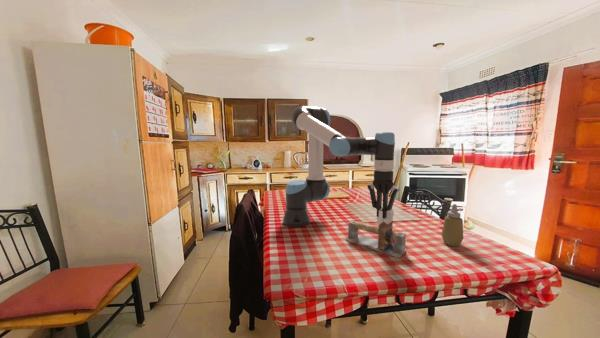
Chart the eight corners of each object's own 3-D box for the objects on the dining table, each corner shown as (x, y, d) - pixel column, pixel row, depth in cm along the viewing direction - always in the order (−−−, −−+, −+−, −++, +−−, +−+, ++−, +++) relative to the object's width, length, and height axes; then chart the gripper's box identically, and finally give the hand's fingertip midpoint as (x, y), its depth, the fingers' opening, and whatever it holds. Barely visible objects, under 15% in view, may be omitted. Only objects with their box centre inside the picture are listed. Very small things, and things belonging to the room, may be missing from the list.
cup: (394, 237, 107) (395, 212, 105) (376, 235, 109) (377, 211, 107) (391, 230, 115) (392, 207, 113) (374, 229, 116) (375, 206, 115)
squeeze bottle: (459, 241, 102) (462, 202, 100) (465, 249, 94) (469, 208, 92) (438, 238, 105) (441, 201, 103) (443, 246, 97) (446, 206, 95)
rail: (345, 240, 104) (346, 222, 102) (354, 234, 109) (354, 218, 108) (399, 258, 88) (400, 237, 87) (406, 250, 93) (407, 231, 92)
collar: (377, 247, 93) (379, 224, 92) (385, 241, 99) (386, 219, 98) (383, 249, 91) (385, 226, 90) (391, 243, 98) (392, 220, 96)
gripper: (364, 169, 94) (363, 223, 97) (396, 172, 86) (393, 231, 88) (372, 168, 100) (370, 219, 103) (403, 170, 91) (400, 226, 94)
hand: (381, 224), depth 96 cm, fingers closed
